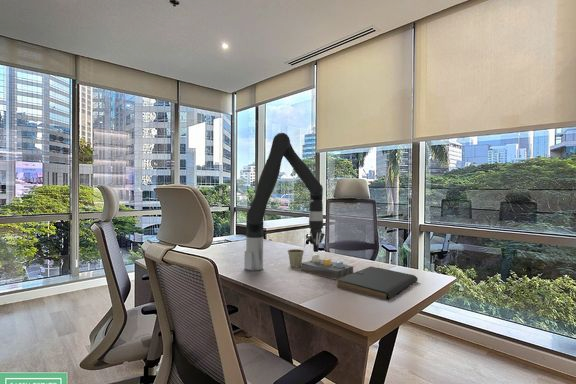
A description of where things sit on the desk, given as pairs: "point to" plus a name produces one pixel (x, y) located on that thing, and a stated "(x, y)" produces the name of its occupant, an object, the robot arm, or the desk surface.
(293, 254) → the flower pot
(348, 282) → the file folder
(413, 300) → the desk surface
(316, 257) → the ivory button
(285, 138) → the robot arm
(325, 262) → the amber button
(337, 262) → the slate button
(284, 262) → the desk surface
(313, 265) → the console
